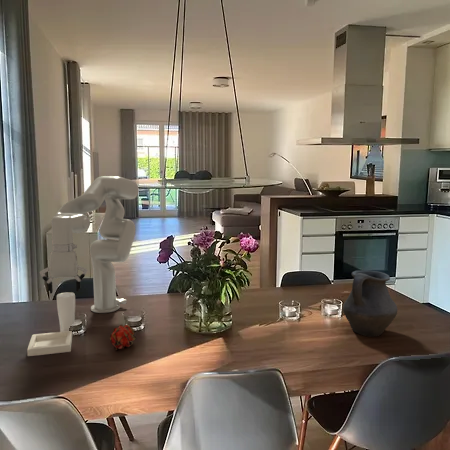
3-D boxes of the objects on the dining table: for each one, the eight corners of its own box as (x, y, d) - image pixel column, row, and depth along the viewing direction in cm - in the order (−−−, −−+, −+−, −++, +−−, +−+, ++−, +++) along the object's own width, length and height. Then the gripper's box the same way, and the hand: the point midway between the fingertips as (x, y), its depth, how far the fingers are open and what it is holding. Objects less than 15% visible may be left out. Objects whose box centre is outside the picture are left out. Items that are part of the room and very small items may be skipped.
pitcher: (404, 331, 179) (408, 269, 176) (380, 348, 164) (384, 281, 160) (356, 319, 193) (359, 261, 190) (329, 333, 177) (332, 271, 174)
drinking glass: (80, 329, 181) (78, 293, 179) (69, 335, 175) (67, 298, 173) (66, 327, 183) (64, 291, 181) (54, 333, 177) (52, 296, 175)
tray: (72, 336, 174) (71, 330, 174) (70, 351, 161) (70, 345, 160) (32, 340, 170) (32, 334, 170) (27, 356, 157) (27, 349, 156)
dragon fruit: (131, 343, 171) (120, 362, 160) (112, 330, 171) (100, 348, 159) (142, 328, 169) (132, 345, 157) (123, 315, 168) (112, 331, 157)
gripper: (86, 245, 180) (88, 287, 182) (39, 247, 175) (41, 290, 177) (86, 248, 173) (87, 292, 175) (37, 250, 168) (39, 296, 170)
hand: (64, 291), depth 176 cm, fingers open, 9 cm apart
